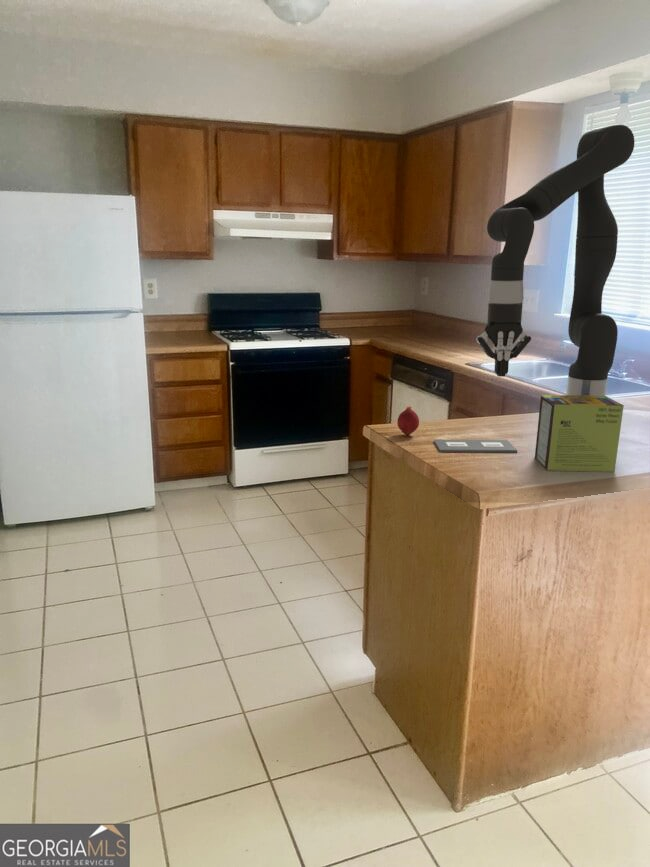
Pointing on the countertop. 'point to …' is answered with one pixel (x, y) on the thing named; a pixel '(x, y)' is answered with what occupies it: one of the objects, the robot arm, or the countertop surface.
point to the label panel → (474, 446)
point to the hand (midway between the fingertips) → (500, 375)
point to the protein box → (578, 433)
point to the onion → (408, 421)
